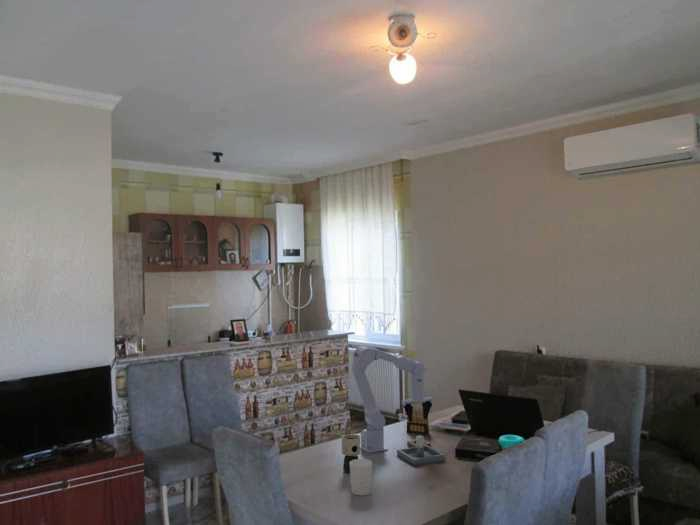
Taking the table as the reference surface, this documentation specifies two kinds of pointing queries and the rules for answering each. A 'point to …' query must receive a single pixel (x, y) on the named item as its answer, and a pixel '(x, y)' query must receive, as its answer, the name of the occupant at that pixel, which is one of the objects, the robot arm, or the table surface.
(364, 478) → the white cup
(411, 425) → the ammunition clip
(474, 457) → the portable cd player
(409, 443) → the pin block
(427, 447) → the tray
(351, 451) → the character mug
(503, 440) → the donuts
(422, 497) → the table surface
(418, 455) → the steel pin
